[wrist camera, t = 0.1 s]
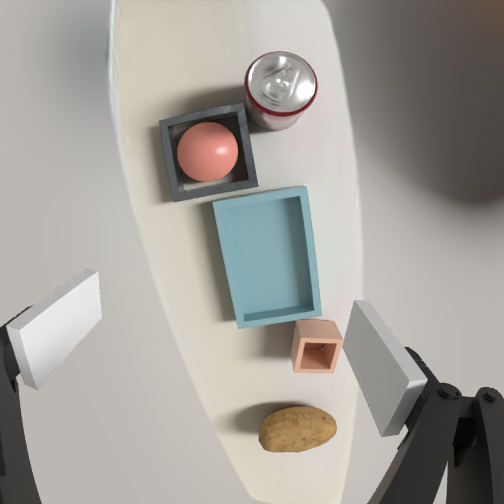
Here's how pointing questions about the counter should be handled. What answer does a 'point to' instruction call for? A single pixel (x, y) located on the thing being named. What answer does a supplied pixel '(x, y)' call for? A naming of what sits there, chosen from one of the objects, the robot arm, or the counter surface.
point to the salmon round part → (207, 151)
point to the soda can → (279, 89)
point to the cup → (315, 346)
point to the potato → (296, 429)
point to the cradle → (172, 159)
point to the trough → (269, 256)
